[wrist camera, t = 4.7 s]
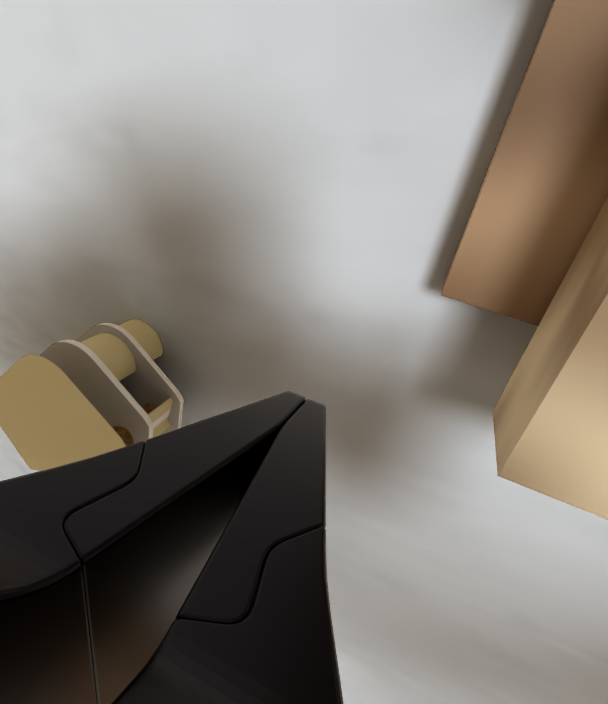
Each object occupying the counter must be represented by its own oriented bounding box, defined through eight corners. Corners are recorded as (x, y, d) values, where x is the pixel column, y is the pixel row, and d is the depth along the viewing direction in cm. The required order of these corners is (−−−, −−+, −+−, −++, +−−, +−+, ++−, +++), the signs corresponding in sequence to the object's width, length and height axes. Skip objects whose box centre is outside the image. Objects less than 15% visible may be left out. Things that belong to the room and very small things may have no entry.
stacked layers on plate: (128, 452, 25) (47, 519, 20) (45, 320, 22) (-67, 360, 18) (257, 423, 20) (190, 503, 15) (168, 252, 18) (59, 283, 13)
